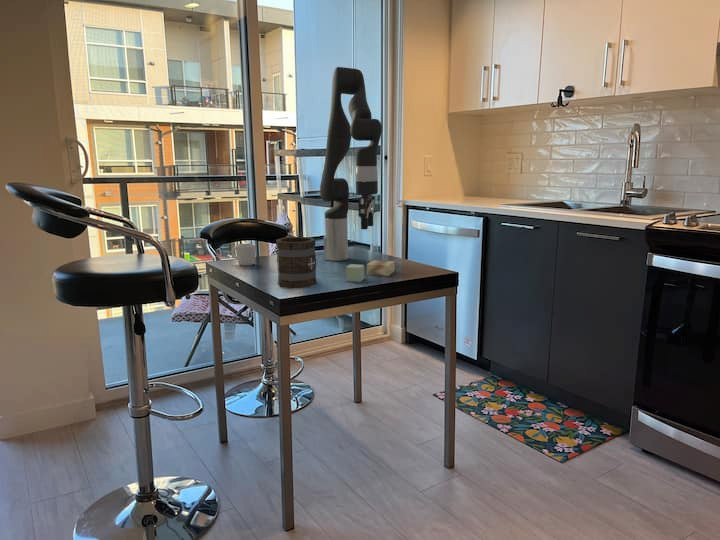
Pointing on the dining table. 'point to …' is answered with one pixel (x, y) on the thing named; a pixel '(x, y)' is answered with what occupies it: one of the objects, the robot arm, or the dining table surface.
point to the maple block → (381, 267)
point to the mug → (296, 262)
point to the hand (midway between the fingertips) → (367, 227)
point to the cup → (245, 254)
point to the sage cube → (355, 272)
